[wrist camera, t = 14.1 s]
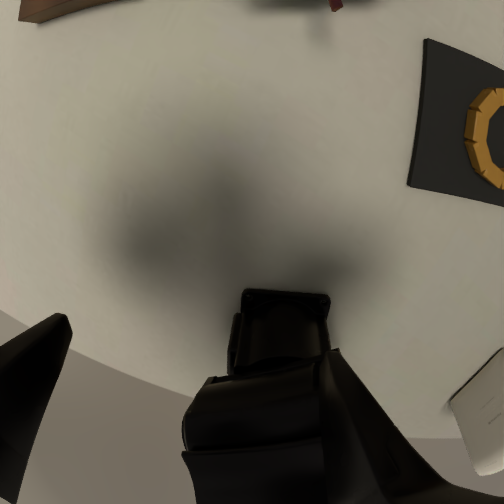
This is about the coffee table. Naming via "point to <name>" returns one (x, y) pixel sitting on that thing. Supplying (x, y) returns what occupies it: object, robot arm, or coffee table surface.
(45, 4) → the peg stand
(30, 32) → the coffee table surface
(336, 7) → the fruit
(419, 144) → the mat
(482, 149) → the ring
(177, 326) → the coffee table surface
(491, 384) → the photo printer
